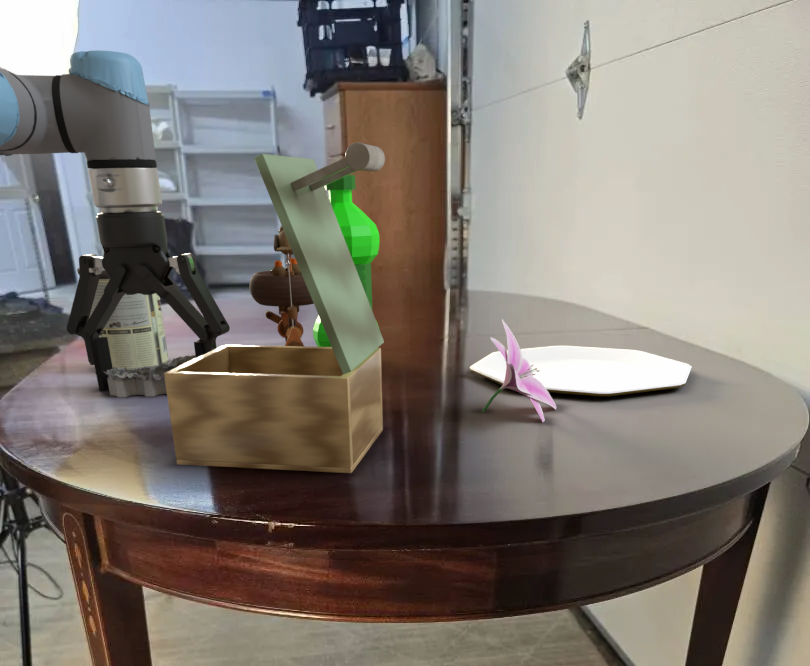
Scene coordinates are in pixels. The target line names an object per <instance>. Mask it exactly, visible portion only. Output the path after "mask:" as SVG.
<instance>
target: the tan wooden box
mask: <svg viewBox="0 0 810 666" xmlns="http://www.w3.org/2000/svg"><path fill="white" fill-rule="evenodd" d="M164 376H165V383H166V390H167V394H166V397H167V404H168V409H169V417H170V425H171V432H172V439H173V445H174V453H175V459H176V465H183V466H200V467H201V466H203V467H221V468H222V467H224V468H243V469H260V470H261V469H262V470H281V471H282V470H283V471H302V472H303V471H304V472H322V473H337V474H338V473H340V474H341V473H342V474H352V473H353V472H354V470H355V469H356V467H357V466H358V465H359V463H360V462H361V461H362V460H363V458H364V457H365V456H366V454H367V453H368V451H369V450H370V448H371V447H372V446H373V444H374V443H375V442H376V440H377V439H378V438H379V436H380V435H381V433H382V432H383V431H384V422H383V417H384V416H383V383H382V381H383V379H382V378H383V377H382V347H378V348H377V349H376V350H375V351H374V352H372V353H371V354H370V355H369V356H368V357H367V358H366V359H365V360H363V361H362V362H361V363H360V364H359V365H358V366H357V367H356V368H354V369H353V370H352V371H351V372H348V373H346V374H343V373H342V371H341V368H340V366H339V364H338V361H337V359H336V356H335V354H334V351H333V349H332V347H318V346H307V345H304V346H285V345H262V344H261V345H259V344H258V345H256V344H255V345H254V344H222V345H220V346H218V347H217V348H216V349H214V350H212V351H210V352H208V353H206V354H204V355H201V356H199V357H197V358H195V359H193V360H191V361H189V362H187V363H184V364H182V365H180V366H178V367H176V368H174V369H172V370H170V371H168V372H165V373H164Z"/></svg>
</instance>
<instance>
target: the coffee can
mask: <svg viewBox="0 0 810 666" xmlns="http://www.w3.org/2000/svg"><path fill="white" fill-rule="evenodd" d="M76 271H77V274H78V278H79V277H80V268H79V267H77V268H76ZM110 278H111V277H110V276H109V275H108V273H107V272H106V271H105V270H104V268H103V271H102V273H101V274H100V278H99V282H98V286H97V290H96V294H95V298H94V301H93V305H92V309H91V313H90V316H91V315H92V313H93V311H94V309H95V308H96V306H97V304H98V302H99V301H100V299H101V297H102V296H103V294H104V289H105V287H106V285H107V284H108V282H109V280H110ZM90 316H89V318H90ZM165 331H166V330H165V324H164V317H163V310H162V303H161V298H160V297H159V296H158V295H157V294H156V293H155V294H152V295H143V294H140V293H137V294H134V295H126V294H125V295H124V296H123V297H122V298H121V300H120V302H119V303H118V305H117V307H116V309H115V310H114V312H113V314H112V315H111V317H110V319H109V320H108V322H107V324H106V325H105V327H104V329H103V330H102V332H101V333H103V334H102V335H100V336H99V338H100V337H107V339H108V345H109V350H110V356H111V362H112V367H116V368H117V367H118V368H125V367H126V370H127V371H129V370H130V369H135V368H137V367H138V368H140V367H145V366H150V367H154V366H159V365H160V364H161V363H170V360H169V353H168V352H169V351H168V344H167V337H166V332H165Z"/></svg>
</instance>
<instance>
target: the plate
mask: <svg viewBox="0 0 810 666" xmlns="http://www.w3.org/2000/svg"><path fill="white" fill-rule="evenodd" d="M520 350H521V354H522V357H523V358H525V359H526V360H527V361H528V363H529V364H530V366H532V365H533V366H532V367H531V368H532V370H533V369H535V368H537V370H538V372H537V371H536V370H533V371H534V372H533V371H532V372H533V374H535V375H533V377H534V378H536V379H537V380H538V381H540V382H541V383H542V384H543V386H544V387H545V388H546V389H547V391H548V392H549V393H554V394H555V393H556V394H569V395H579V396H591V397H615V396H621V395H623V396H624V395H630V394H639V393H647V392H655V391H663V390H671V389H672V390H673V389H679V388H681V387H684V386H686V383H687V382H688V378H689V376H690V373H691V372H692V368H693V366H692V365H690V364H689V363H686V362H682V361H678V360H676V359H672V358H668V357H665V356H660V355H658V354H654V353H651V352H646V351H644V350H643V351H642V350H638V349H637V350H636V349H627V348H612V347H611V348H609V347H596V346H595V347H592V346H577V345H549V346H548V345H547V346H538V347H528V348H520ZM506 351H507V355H508V349H506ZM539 370H540V371H539ZM469 371H470V372H471V373H473V374H476V375H477V376H480V377H482V378H485V379H487V380H490V381H492V382H493V383H496V384H497V385H501V386H502V385H503V383H504V380H505V375H506V360H505V358H504V357H503V355H502V354H501V352H500V351H499V350H498V351H492V352H491V353H489V354H488V355H486V356H485V357H483V358H481V359H480V360H478V361H476V362H475V363H473V364H472V365H470V366H469Z"/></svg>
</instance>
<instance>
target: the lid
mask: <svg viewBox="0 0 810 666" xmlns="http://www.w3.org/2000/svg"><path fill="white" fill-rule="evenodd" d="M344 155H345V156H344V157H343V158H340V159H338V160H336V161H334V162H332V163H330V164H328V165H325V166H323V167H321V168H319V169H318V168H317V164H316V162H315V159H313V158H305V157H296V156H285V155H278V154H277V155H276V154H269V153H261V154H259V155H257V156H255V157H254V158H253V159H254V162H255V164H256V166H257V170H258V172H259V174H260V177H261V179H262V181H263V184H264V186H265V188H266V191H267V193H268V195H269V198H270V201H271V203H272V205H273V208H274V210H275V213H276V215H277V217H278V221H279V222H280V225H281V226H282V227H283V230H284V232H285V235H286V237H287V240H288V242H289V244H290V247H291V249H292V252H293V254H292V255H293V258H294V259H296V261H297V264H298V266H299V269H300V271H301V274H302V276H303V278H304V281H305V283H306V286H307V288H308V291H309V293H310V295H311V298H312V300H313V303H314V304H313V306H314V307H315V310H316V313H317V314H318V315H319V317H320V320H321V322H322V325H323V327H324V329H325V332H326V334H327V337H328V339H329V342H330V344H331V347H332V349H333V351H334V354H335V356H336V359H337V361H338V364H339V366H340V368H341V371H342V373H343V374H346V373H348V372H351V371H352V370H353V369H354V368H356V367H357V366H358V365H359V364H360V363H361V362H362V361H363V360H365V359H366V358H367V357H368V356H369V355H370V354H371V353H372V352H374V351H375V350H376V349H377V348H380V347H381V346H382V345H383V344H384V343H385V341H384V338H383V335H382V332H381V330H380V326H379V324H378V321H377V319H376V317H375V315H374V312H373V308H372V309H371V306H370V304H369V301H368V299H367V296H366V293H365V291H364V288H363V286H362V283H361V281H360V278H359V275H358V273H357V270H356V268H355V265H354V262H353V260H352V257H351V255H350V252H349V250H348V247H347V244H346V242H345V239H344V237H343V234H342V231H341V229H340V226H339V224H338V221H337V219H336V216H335V213H334V211H333V208H332V206H331V203H330V200H329V194H328V193H327V190H325V188H324V186H326V185H328V184H330V183H332V182H334V181H336V180H339V179H341V178H343V177H345V176H347V175H353V174H354V173H356V172H358V171H360V172H371V173H372V172H373V173H375V172H378V171H381V170H382V168H383V167H384V165H385V162H386V155H385V153H384V151H383V149H382V148H381V147H379V146H377V145H372V144H367V143H363V142H358V141H357V142H353V143H351V144H350V145H348V146H347V148H346V151H345V154H344ZM318 315H317V316H318ZM376 321H377V322H376ZM378 326H379V327H378Z"/></svg>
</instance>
